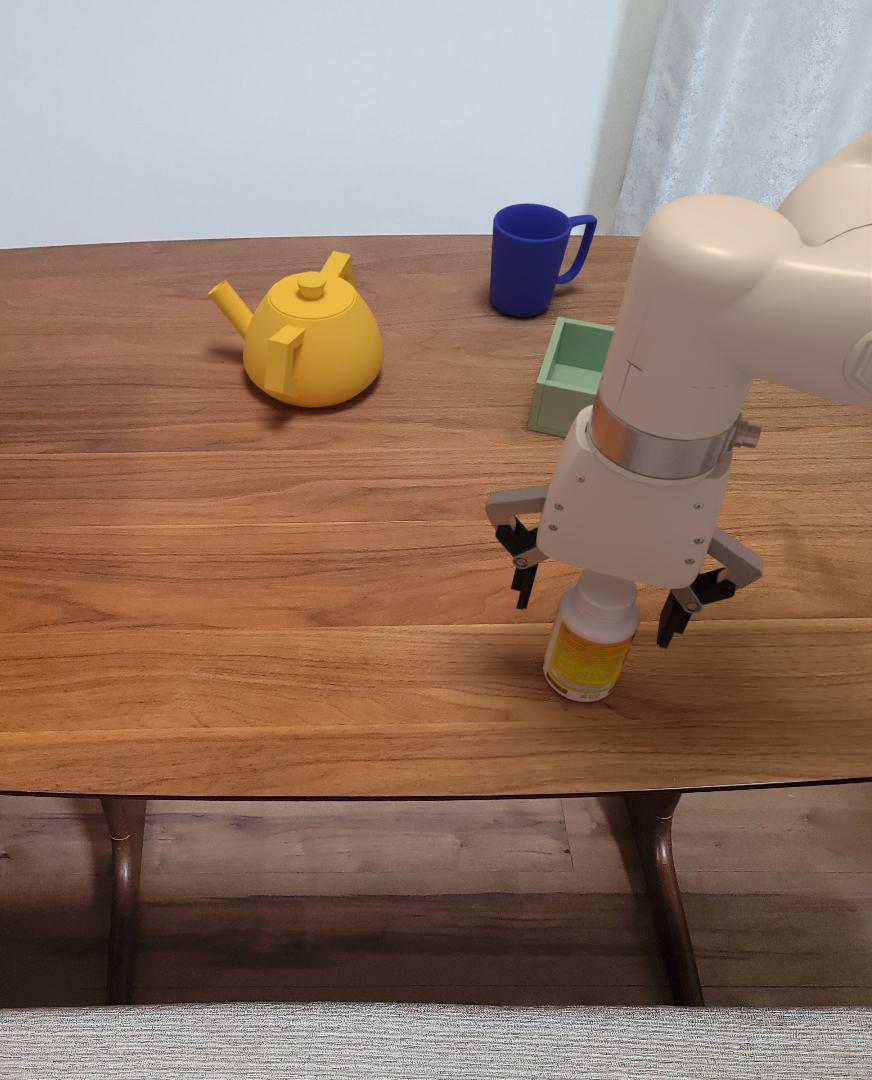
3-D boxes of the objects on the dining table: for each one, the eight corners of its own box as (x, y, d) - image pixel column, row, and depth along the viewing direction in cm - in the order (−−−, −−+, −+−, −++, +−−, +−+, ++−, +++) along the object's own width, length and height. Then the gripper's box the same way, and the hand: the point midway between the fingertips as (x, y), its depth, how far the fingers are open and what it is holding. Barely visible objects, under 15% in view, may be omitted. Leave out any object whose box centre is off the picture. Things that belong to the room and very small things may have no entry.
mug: (599, 308, 104) (619, 225, 97) (504, 330, 101) (518, 246, 94) (560, 272, 109) (576, 191, 102) (469, 293, 106) (479, 210, 99)
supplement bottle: (623, 706, 68) (658, 619, 60) (547, 705, 68) (573, 618, 61) (608, 644, 72) (640, 555, 64) (536, 644, 72) (559, 555, 64)
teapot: (251, 303, 105) (244, 211, 97) (406, 333, 101) (412, 239, 93) (173, 407, 92) (158, 311, 84) (347, 446, 88) (349, 349, 80)
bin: (671, 386, 94) (687, 339, 90) (660, 457, 87) (676, 410, 83) (548, 362, 97) (557, 316, 93) (526, 429, 90) (536, 382, 86)
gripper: (820, 417, 53) (724, 607, 65) (520, 354, 57) (483, 545, 69) (822, 503, 48) (717, 691, 60) (493, 428, 52) (459, 619, 64)
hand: (592, 613), depth 65 cm, fingers open, 9 cm apart
